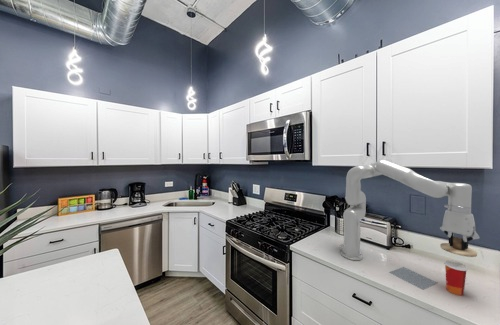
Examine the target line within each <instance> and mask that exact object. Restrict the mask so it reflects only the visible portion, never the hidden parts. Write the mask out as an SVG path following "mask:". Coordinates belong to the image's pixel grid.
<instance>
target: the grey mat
mask: <svg viewBox="0 0 500 325" xmlns="http://www.w3.org/2000/svg"><path fill="white" fill-rule="evenodd" d="M388 273H389V274H391V275H393V276H396V277H397V278H399V279H401V280H402V281H405V282H406V283H408V284H411V285H413V286H415V287H416V288H418V289H421V290H426V289H428V288H430V287H432V286H435V285H436V284H438V283H439V282H438V281H436V280H434V279H432V278H429V277H427V276H425V275H422V274H420V273H418V272H416V271H414V270H412V269H410V268H407V267H405V266H402V267H399V268H396V269H393V270H390V271H389V272H388Z"/></svg>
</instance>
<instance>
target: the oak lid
mask: <svg viewBox="0 0 500 325" xmlns="http://www.w3.org/2000/svg"><path fill="white" fill-rule="evenodd" d="M462 241H463V237H459V236H454V237H453V246H450V244H449V242H444V243H440V248H441V249H442V251H445V252H448V253H451V254H453V255H456V256H462V257H468V258H475V257H477V256H478V252H477V251H476V250H474V249H472V248H470V247H468V249H466V250H462Z"/></svg>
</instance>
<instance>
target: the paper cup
mask: <svg viewBox="0 0 500 325" xmlns="http://www.w3.org/2000/svg"><path fill="white" fill-rule="evenodd" d="M443 264H444V265H445V266H444V267H445V287H446V291H447V292H449V293H450V294H453V295H456V296H464V291H465V285H466V279H467V277H466V276H467V271H468V268H467V265H466V264H464V263H463V262H462V263H461V262H460V261H456V260H453V259H452V260H451V259H447V260H445V262H444V263H443Z"/></svg>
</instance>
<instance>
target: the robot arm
mask: <svg viewBox="0 0 500 325" xmlns="http://www.w3.org/2000/svg"><path fill="white" fill-rule="evenodd" d="M382 175H383V176H386V177H388V178H390V179H393V180H394V181H397V182H399V183H401V184H403V185H405V186H407V187H410V188H411V189H413V190H415V191H417V192H420V193H422V194H424V195H425V196H426V195H427V196H429V197H431V198H438V199H440V198H443V197H447V199H448V200H447V204H444V208H447V209H445V212H444V215H443V220H442V225H441V226H440V227H439V230H441V231H442V232H444V234H445V235H446V236H447V237H448V243H449V244H450V246H453V237H455V234H458V235H461V236H462V238H463V241H462V250H466V249H468V248H469V242H470V241H473V240H479V239H480V235H479V234H478V232H477V231H476V222H475V218H474V217H475V216H474V214H473V213H472V194H473V193H472V192H473V189H472V188H473V187H472V185H471V184H468V183H465V182H464V183H463V182H462V183H461V182H447V181H441V180H433V179H430V178H428V177H425V176H423V175H421V174H419V173H417V172H416V171H414V170H413V169H411V168H410V167H406V166H403V165H402V164H401V165H400V164H398V163H395V162H394V161H392V160H391V159H389V158H388V159H384V158H382V159H379V160H377V161H376V162H372V163H368V164H359V165H356V166H354V167H352V168H350V169H349V170H348V172H347V174H346V177H345V180H346V181H345V183H346V184H345V203H346V204H347V205H349V206H350V207H347V208H346V209H345V210H344V211H343V214H342V215H343V217H342V218H343V244H342V243H341V244H340V245H339V248H340V249H341V251H340V254H341V256H342V257H343V258H346V259H348V260H352V261H361V260H363V258H364V257H363V255H362V254H361V224H360V222H361V221H362V220H363V219H364V218H365V217H366V212H367V211H366V209H367V208H366V207H367V198H366V197H367V196H366V194H365V192H363V191H362V183H361V180H362V179H363V180H364V179H368V178H374V177H378V176H382Z"/></svg>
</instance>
